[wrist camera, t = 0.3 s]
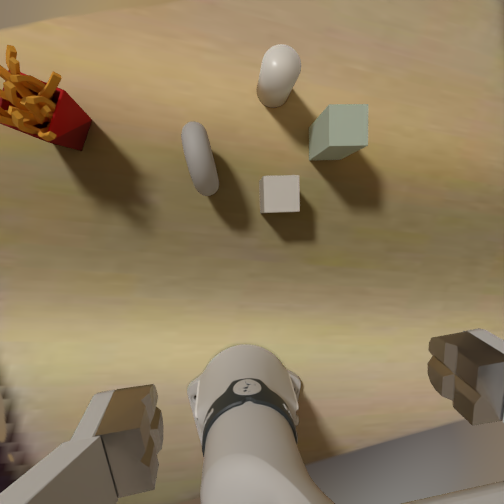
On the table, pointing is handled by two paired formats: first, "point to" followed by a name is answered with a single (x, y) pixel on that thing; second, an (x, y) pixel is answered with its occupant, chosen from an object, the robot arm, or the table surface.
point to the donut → (200, 158)
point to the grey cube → (279, 194)
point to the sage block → (338, 132)
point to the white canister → (278, 75)
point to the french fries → (40, 107)
